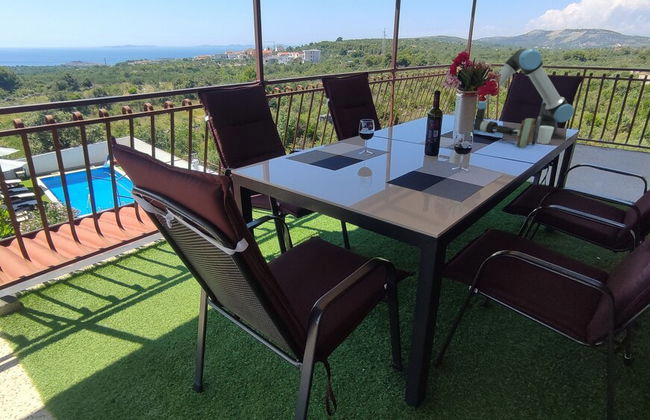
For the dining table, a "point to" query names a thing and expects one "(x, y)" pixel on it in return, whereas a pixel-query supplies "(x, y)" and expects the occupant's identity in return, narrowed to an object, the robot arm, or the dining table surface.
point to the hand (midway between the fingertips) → (523, 134)
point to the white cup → (545, 134)
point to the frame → (526, 132)
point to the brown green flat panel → (529, 132)
